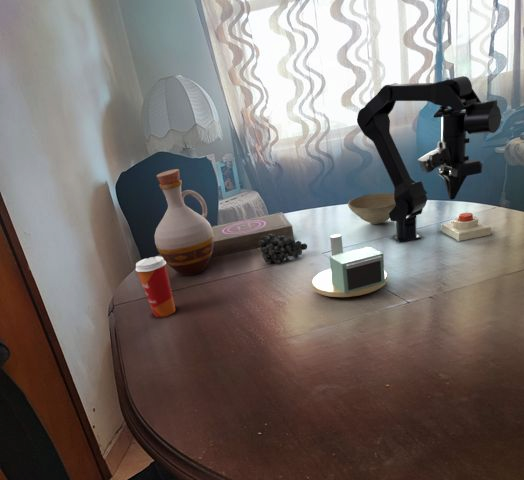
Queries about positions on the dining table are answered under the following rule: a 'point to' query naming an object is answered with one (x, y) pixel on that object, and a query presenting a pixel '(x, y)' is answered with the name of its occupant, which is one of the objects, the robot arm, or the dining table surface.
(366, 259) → the round platter with block
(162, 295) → the paper cup
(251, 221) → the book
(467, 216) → the button
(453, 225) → the box
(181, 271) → the jug
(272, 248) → the fruit
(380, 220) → the bowl
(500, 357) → the dining table surface
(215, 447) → the dining table surface
